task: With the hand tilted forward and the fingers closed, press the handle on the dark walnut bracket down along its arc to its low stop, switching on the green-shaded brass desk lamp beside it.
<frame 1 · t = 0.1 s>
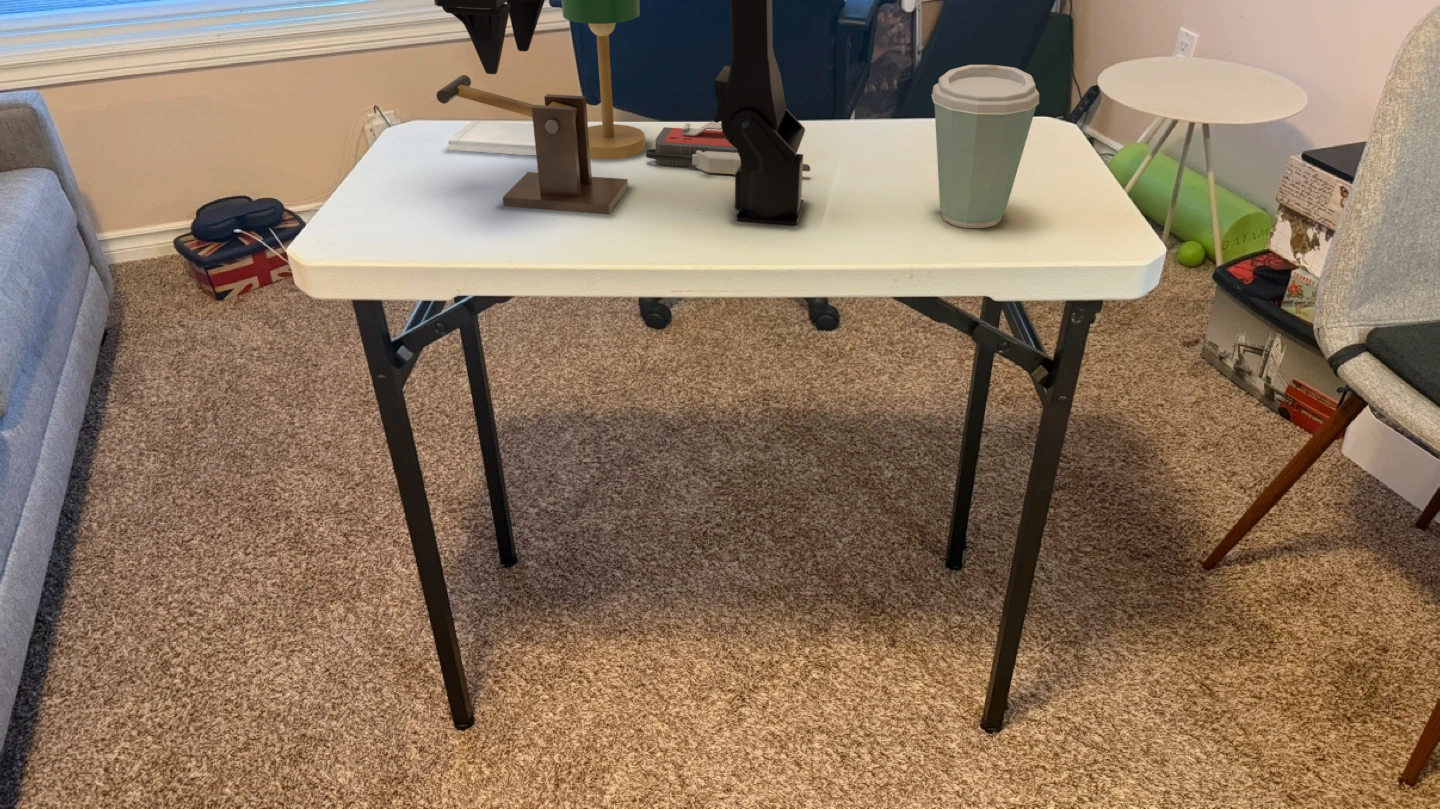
hand: (507, 61, 106), 15 cm above the table, tool pointing down, fingers open, 9 cm apart
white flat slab: (508, 145, 129), on the table
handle: (510, 104, 109), point 10 cm above the table, hinge at 12.0°
disposable coffee cup: (967, 219, 109), on the table
red boxy piece: (730, 166, 123), on the table
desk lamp: (609, 148, 128), on the table
switch bracket: (567, 198, 114), on the table
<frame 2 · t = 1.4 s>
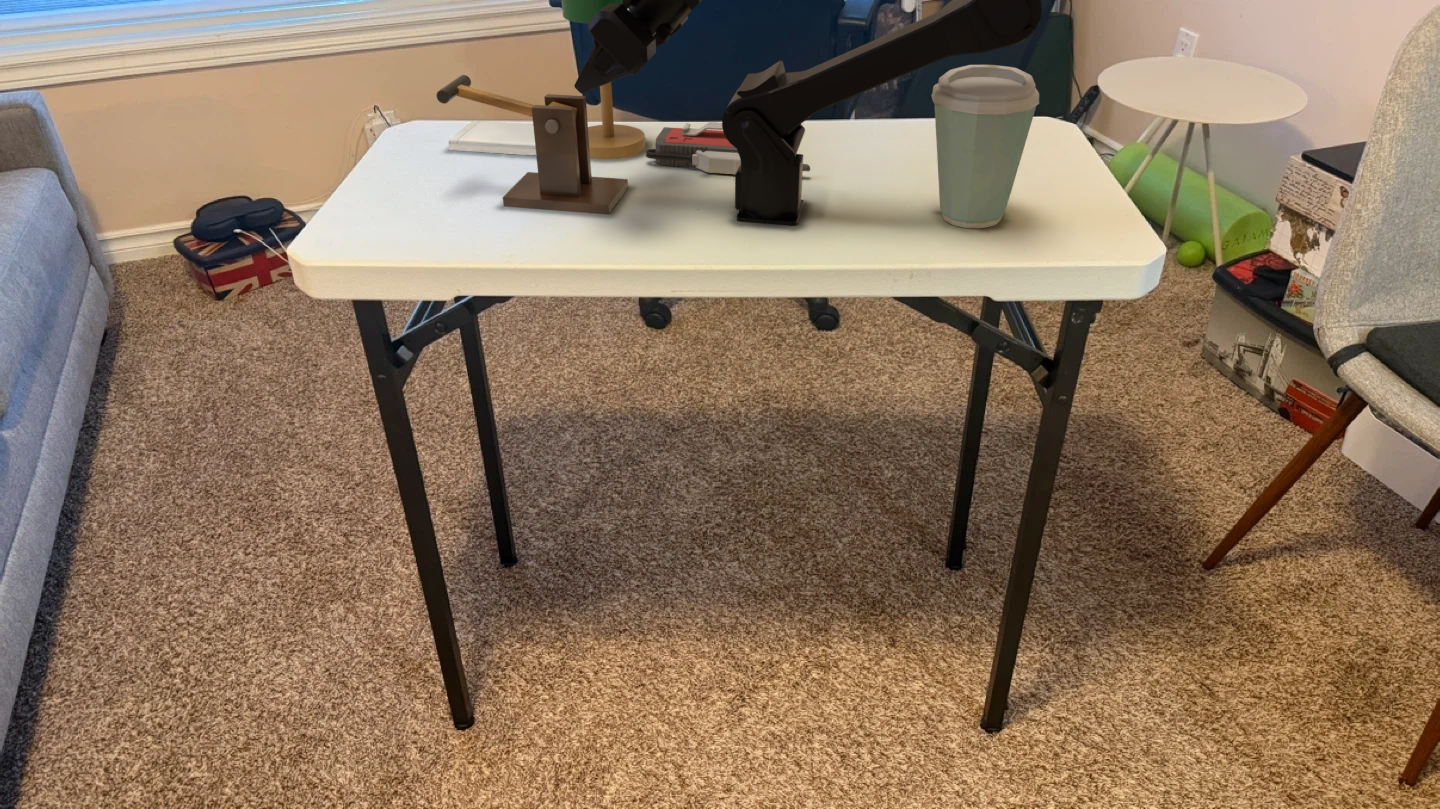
hand: (589, 78, 106), 13 cm above the table, tool tilted 45°, fingers open, 8 cm apart
nothing on the table moved.
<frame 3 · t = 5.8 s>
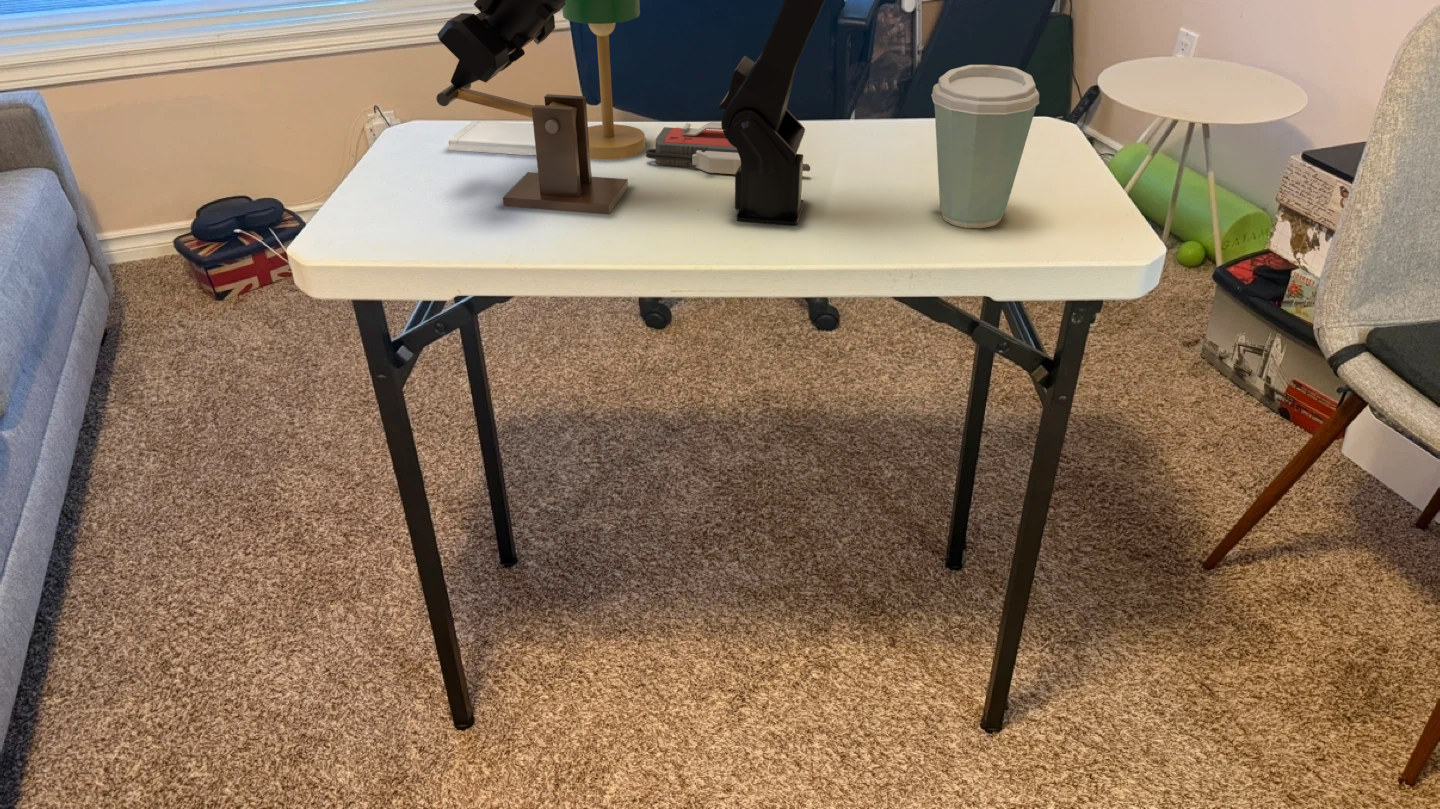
hand: (455, 84, 109), 12 cm above the table, tool tilted 45°, fingers closed, pressing on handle
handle: (510, 105, 109), point 10 cm above the table, hinge at 10.5°, touching gripper
everything else where it was.
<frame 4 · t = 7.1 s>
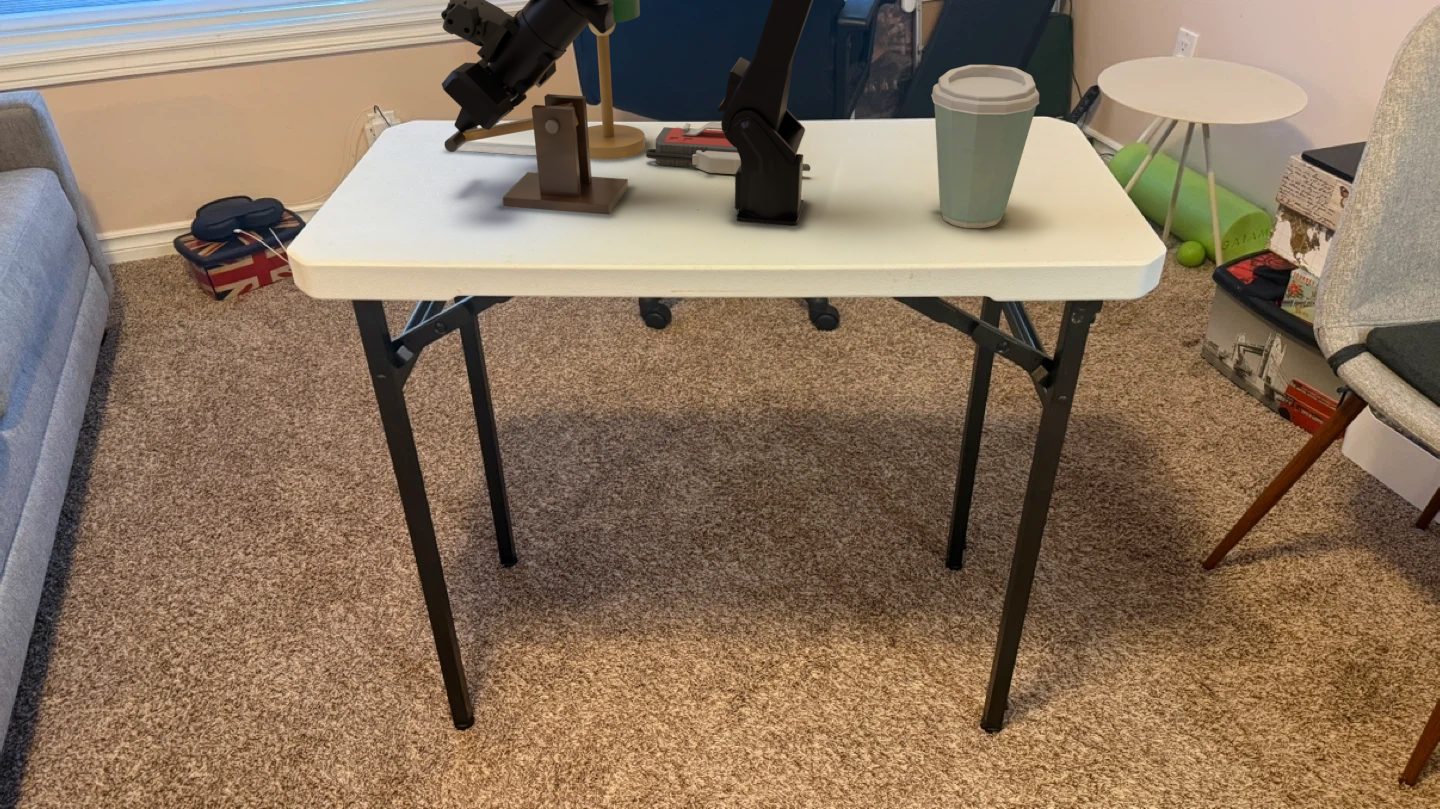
hand: (458, 128, 112), 7 cm above the table, tool tilted 45°, fingers closed, pressing on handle
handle: (513, 127, 110), point 8 cm above the table, hinge at -13.4°, touching gripper
everything else where it was.
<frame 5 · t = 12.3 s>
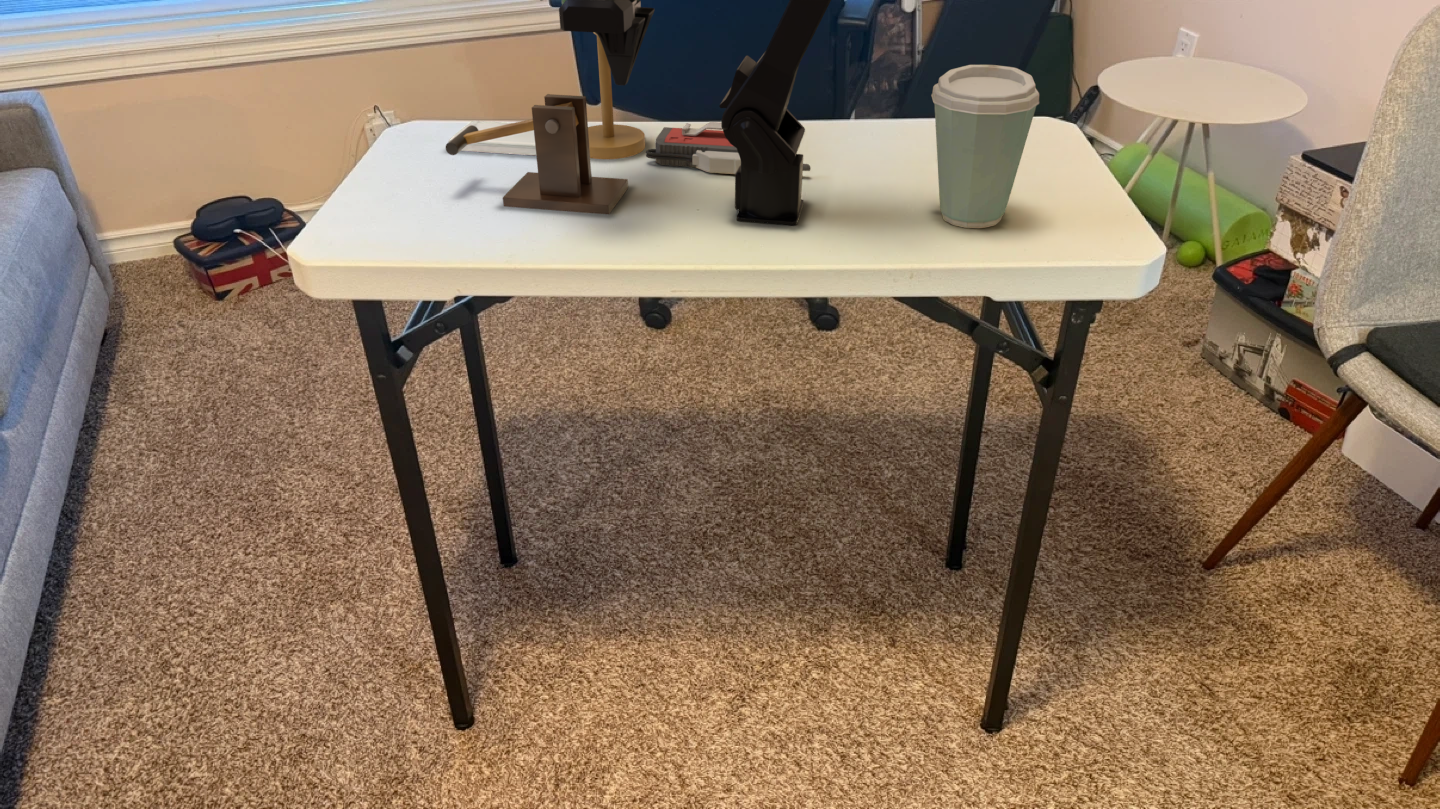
hand: (621, 84, 105), 13 cm above the table, tool pointing down, fingers closed
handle: (513, 128, 110), point 8 cm above the table, hinge at -15.0°
everything else where it was.
at the end: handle at -15° (first picture: +12°) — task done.
